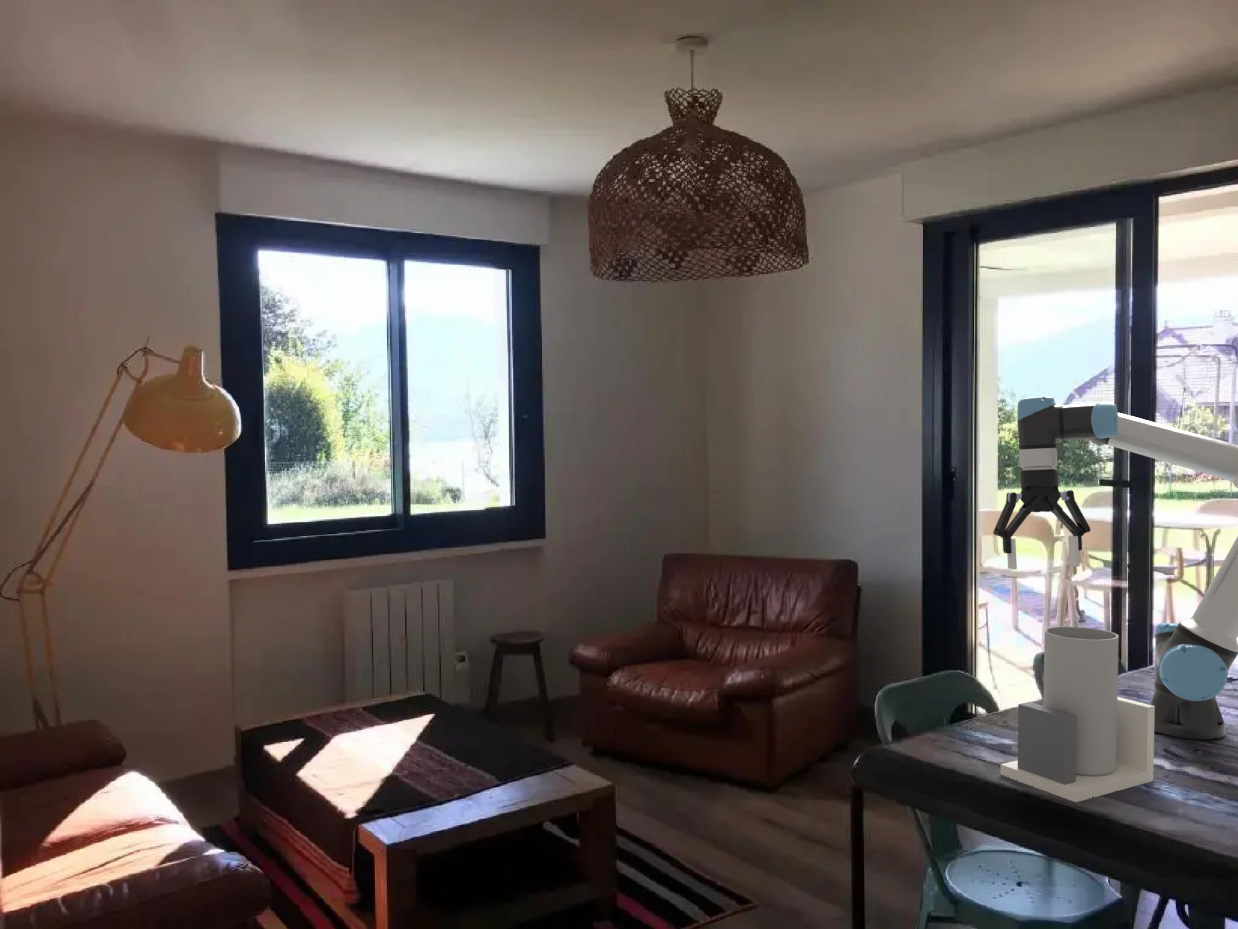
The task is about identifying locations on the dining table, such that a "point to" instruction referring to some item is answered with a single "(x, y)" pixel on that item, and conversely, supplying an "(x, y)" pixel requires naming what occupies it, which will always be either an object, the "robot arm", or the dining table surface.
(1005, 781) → the dining table surface
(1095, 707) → the cylinder vase
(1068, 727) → the white corner bracket
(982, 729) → the dining table surface
